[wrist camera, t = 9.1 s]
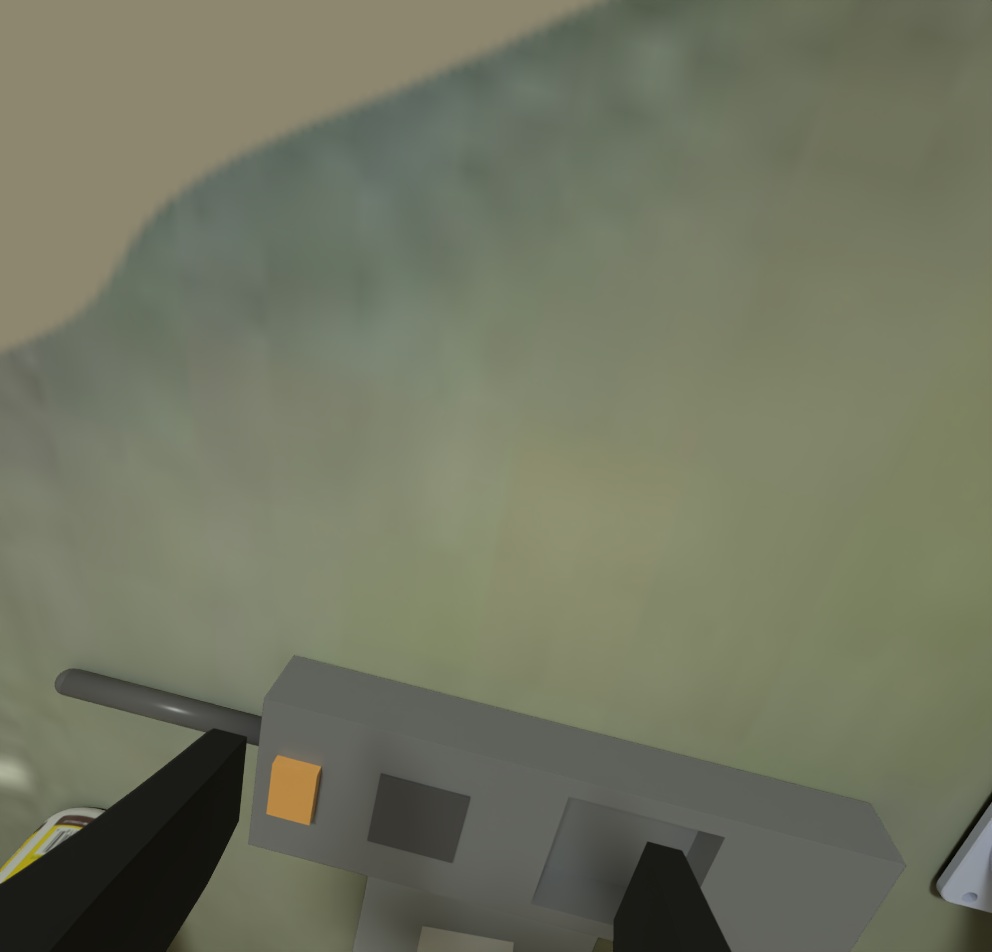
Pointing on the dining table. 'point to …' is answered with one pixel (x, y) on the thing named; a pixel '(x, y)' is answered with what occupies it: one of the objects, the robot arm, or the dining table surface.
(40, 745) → the dining table surface
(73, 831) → the supplement bottle
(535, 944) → the pad
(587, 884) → the power strip
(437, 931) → the block
